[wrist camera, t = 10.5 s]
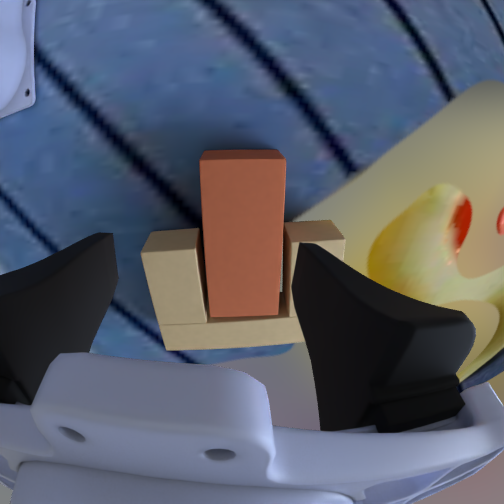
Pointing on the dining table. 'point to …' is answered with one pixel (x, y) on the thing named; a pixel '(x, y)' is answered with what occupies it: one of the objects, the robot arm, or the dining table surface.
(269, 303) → the reddish-brown rectangular block
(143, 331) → the dining table surface
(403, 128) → the dining table surface
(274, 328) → the u-shaped block
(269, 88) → the dining table surface
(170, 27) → the dining table surface
